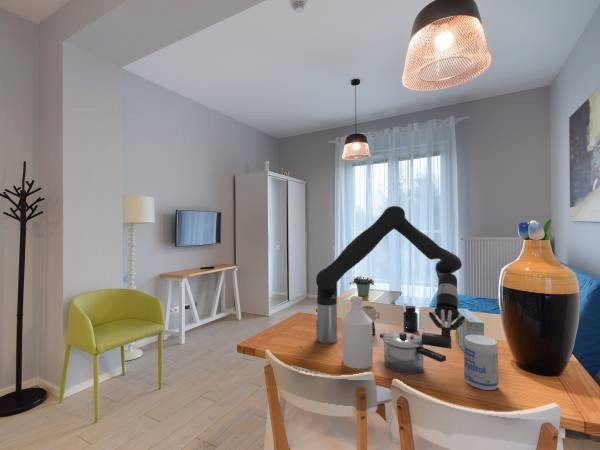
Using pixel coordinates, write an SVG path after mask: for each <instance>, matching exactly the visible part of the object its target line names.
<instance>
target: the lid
mask: <svg viewBox="0 0 600 450" xmlns="http://www.w3.org/2000/svg"><path fill="white" fill-rule="evenodd" d="M382 340H383V343H384V342H385V343H387V344H388V345H391V346H394V347H398V348H404V349H415V348H420V347H422V346H423V347H424V346H431V347H436V348H443V349H450V350H451V349H452V336H451V335H450V336H446V335H441V334H437V333H430V332H429V333H428V332H421V337H420V336H419V335H416V334H414V333H411V332H402V331H396V332H395V331H394V332H393V331H392V332H391V331H390V332H387V333H386V334H385V335H384V336H383V339H382Z"/></svg>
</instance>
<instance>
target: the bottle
mask: <svg viewBox="0 0 600 450" xmlns="http://www.w3.org/2000/svg"><path fill="white" fill-rule="evenodd" d="M350 302H351V309H350V310H349V311H348V312H347V313H346V314H345V315H344V317H342V318H341V337H342V339H341V342H342V343H341V344H342V363H343V365H345V366H346V367H349V368H352V369H357V370H359V369H360V370H363V369H369V368H370V367H372V365H373V334H372V320H371V319H370V318H369V317H368V316H367V315H366V313H365V312H364V311H363V310H362V306H363V303H362V302H363V297H362V296H357V295H356V296H350Z"/></svg>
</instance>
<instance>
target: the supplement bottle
mask: <svg viewBox="0 0 600 450" xmlns="http://www.w3.org/2000/svg"><path fill="white" fill-rule="evenodd" d="M404 310H405V311H404V312H403V313H402V314H403V316H402V318H403V319H402V320H403V321H402V322H403V323H402V324H403V325H402V326H403V327H402V328H403V331H405V332H406V333H417V332H418V331H419V330H418V329H419V328H418V325H419V323H418V321H419V320H418V316H419V315H418V313H417V312H416V306H413V305H405V309H404ZM406 327H407V328H406Z"/></svg>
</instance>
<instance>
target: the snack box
mask: <svg viewBox="0 0 600 450" xmlns="http://www.w3.org/2000/svg"><path fill="white" fill-rule="evenodd" d="M458 311H459V314H460V315H461V316H464V317H465V322H464V323H463V324H462V325H461V326H459V327H458V328H457V329H456V330H455V341H456V343H457V344H458V345H459V347H460V348H461V350H462V351H463V352H464V340H465V336H466V335H482V336H485V323H484V322H483V321H482V320H481V319H480V318H479V317H477V315H475V314H474V313H472V312H471V311H470V310H469V309H467V308H458ZM457 320H458V317H457V318H456V319H455V322H456V321H457Z"/></svg>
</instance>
